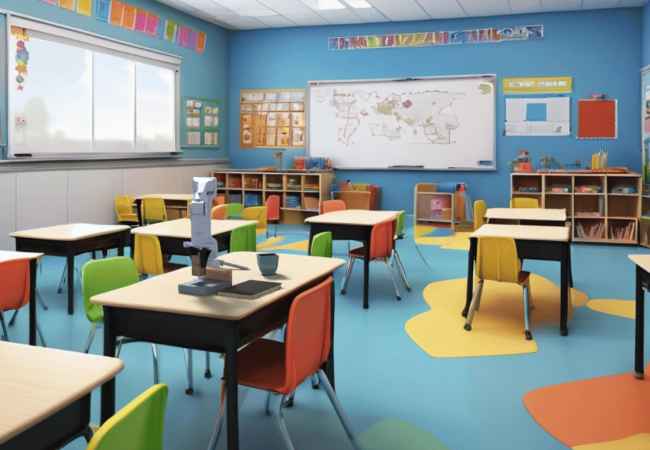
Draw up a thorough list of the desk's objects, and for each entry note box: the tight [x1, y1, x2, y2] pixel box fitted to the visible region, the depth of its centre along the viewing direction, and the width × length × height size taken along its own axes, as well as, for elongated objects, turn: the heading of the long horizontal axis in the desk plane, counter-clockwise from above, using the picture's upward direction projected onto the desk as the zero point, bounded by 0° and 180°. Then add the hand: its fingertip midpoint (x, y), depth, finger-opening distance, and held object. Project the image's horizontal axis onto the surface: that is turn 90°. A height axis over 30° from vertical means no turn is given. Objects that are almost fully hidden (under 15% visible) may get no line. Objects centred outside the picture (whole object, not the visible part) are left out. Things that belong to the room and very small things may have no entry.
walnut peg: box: [190, 254, 207, 277], centre depth 235 cm, size 4×4×8 cm
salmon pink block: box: [204, 266, 233, 282], centre depth 243 cm, size 6×14×5 cm, turn 59°
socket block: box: [177, 278, 233, 297], centre depth 239 cm, size 16×14×3 cm
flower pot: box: [256, 252, 280, 276], centre depth 271 cm, size 9×9×9 cm
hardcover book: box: [216, 279, 283, 300], centre depth 238 cm, size 16×23×2 cm
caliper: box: [216, 258, 251, 271], centre depth 284 cm, size 20×1×6 cm, turn 76°
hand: (199, 266), depth 235 cm, fingers closed on walnut peg, 4 cm apart
